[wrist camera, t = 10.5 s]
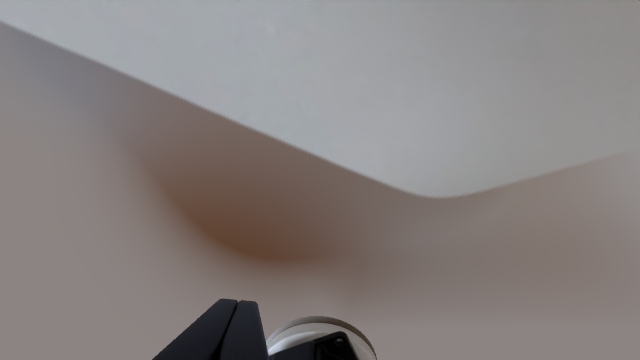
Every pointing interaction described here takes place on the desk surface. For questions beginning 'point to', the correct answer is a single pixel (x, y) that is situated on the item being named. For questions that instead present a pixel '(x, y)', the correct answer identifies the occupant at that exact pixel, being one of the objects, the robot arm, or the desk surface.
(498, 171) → the desk surface
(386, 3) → the desk surface
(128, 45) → the desk surface
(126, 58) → the desk surface
